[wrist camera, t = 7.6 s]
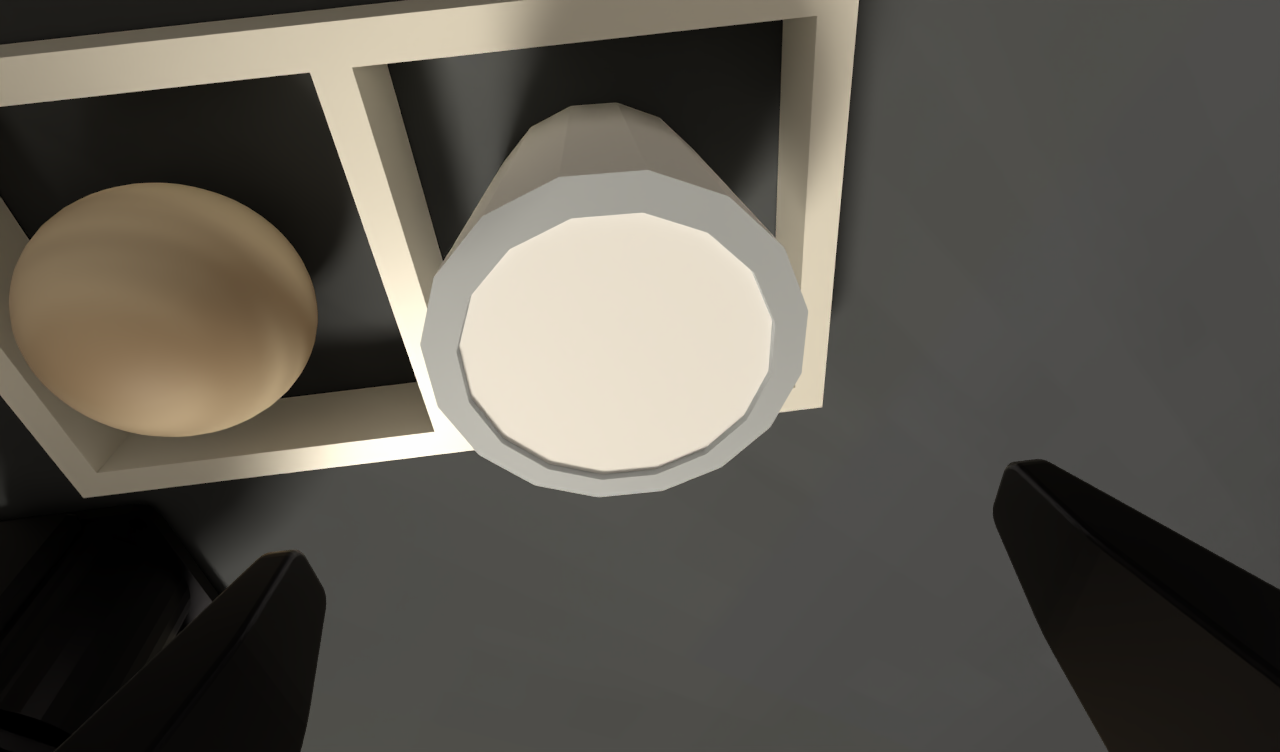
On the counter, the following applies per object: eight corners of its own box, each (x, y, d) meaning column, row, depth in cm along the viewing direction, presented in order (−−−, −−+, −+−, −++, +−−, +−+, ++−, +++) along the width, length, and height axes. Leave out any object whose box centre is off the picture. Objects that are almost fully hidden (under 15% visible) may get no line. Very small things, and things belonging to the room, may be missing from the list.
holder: (797, 357, 21) (822, 407, 19) (131, 438, 20) (83, 497, 18) (821, -45, 15) (862, -37, 13) (-132, 59, 14) (-250, 85, 12)
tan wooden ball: (373, 336, 19) (311, 473, 14) (175, 360, 19) (49, 505, 14) (298, 136, 16) (187, 230, 11) (57, 163, 16) (-153, 269, 11)
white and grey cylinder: (779, 233, 18) (875, 382, 13) (584, 367, 20) (591, 548, 15) (628, 6, 15) (664, 69, 9) (410, 193, 17) (329, 342, 11)
